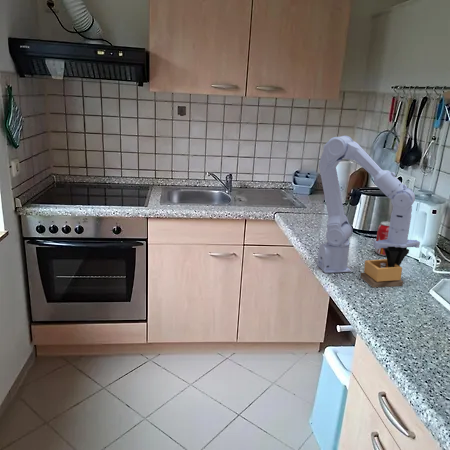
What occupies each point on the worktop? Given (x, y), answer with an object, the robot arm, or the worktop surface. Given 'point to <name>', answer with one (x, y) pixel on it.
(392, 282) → the board
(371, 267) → the orange open box
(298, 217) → the worktop surface
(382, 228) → the soda can
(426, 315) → the worktop surface
